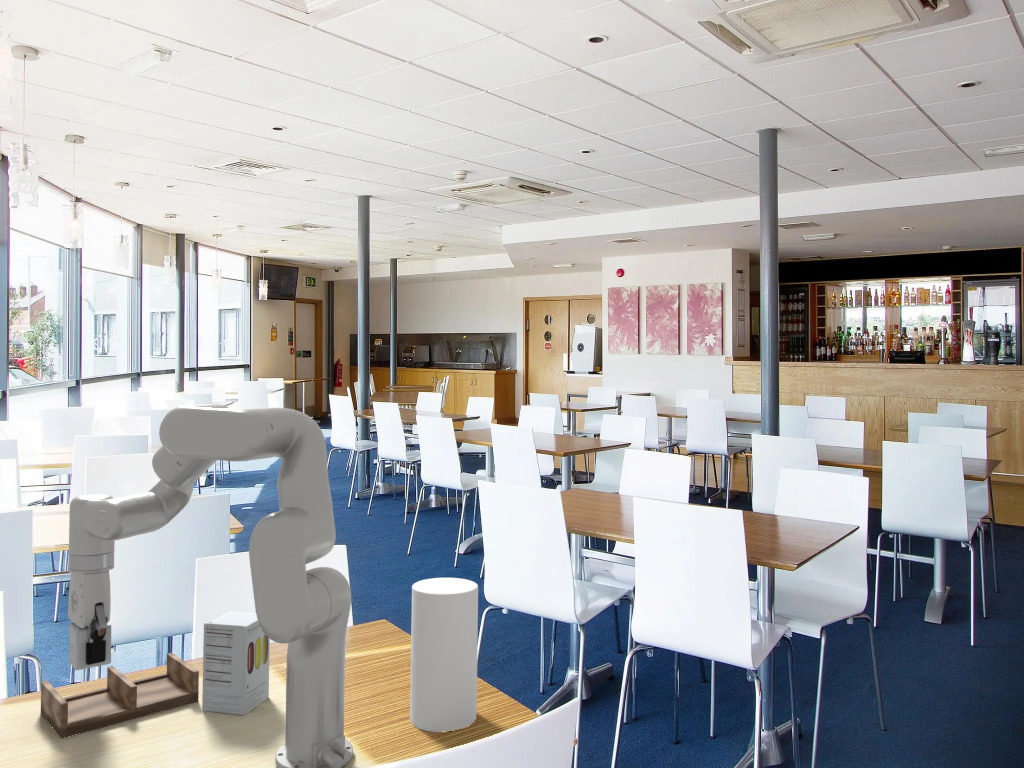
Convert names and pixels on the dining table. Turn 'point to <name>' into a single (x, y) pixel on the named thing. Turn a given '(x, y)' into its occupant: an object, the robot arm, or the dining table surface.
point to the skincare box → (78, 646)
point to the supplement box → (235, 663)
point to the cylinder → (444, 654)
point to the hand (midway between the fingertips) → (89, 656)
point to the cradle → (120, 699)
